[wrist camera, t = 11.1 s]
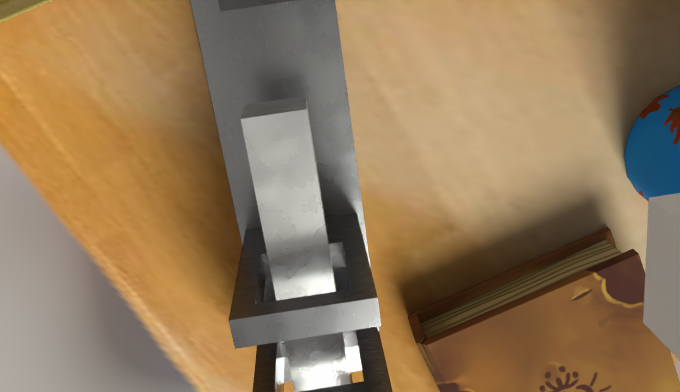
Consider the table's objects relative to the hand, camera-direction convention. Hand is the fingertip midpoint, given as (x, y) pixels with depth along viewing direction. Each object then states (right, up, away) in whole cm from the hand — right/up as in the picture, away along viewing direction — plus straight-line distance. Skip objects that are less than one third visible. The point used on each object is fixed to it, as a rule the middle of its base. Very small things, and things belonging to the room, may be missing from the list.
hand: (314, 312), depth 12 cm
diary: (+20, -14, +47) cm, 52 cm away
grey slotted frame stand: (-3, +3, +38) cm, 38 cm away
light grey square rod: (-2, -3, +34) cm, 34 cm away
